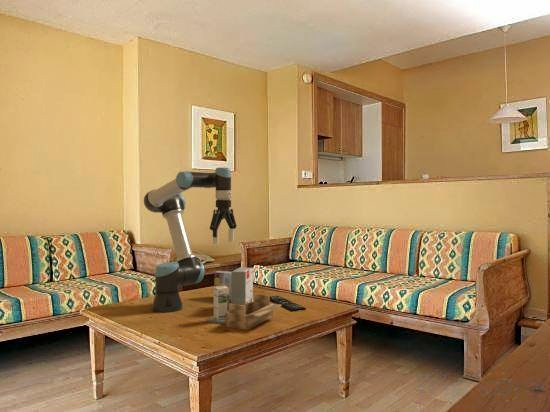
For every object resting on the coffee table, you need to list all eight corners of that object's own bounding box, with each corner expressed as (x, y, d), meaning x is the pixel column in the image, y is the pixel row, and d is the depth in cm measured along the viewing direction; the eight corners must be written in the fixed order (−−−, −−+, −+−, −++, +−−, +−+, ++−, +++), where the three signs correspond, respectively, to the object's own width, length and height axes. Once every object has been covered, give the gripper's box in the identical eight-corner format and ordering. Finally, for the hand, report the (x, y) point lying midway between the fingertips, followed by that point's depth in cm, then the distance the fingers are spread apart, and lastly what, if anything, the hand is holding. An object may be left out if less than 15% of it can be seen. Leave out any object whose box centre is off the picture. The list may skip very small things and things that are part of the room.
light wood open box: (225, 326, 193) (225, 303, 193) (251, 313, 214) (251, 293, 214) (258, 331, 186) (258, 307, 186) (282, 317, 207) (282, 296, 207)
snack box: (250, 300, 244) (249, 273, 243) (244, 302, 239) (244, 274, 239) (219, 296, 255) (219, 270, 254) (213, 298, 250) (213, 271, 250)
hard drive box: (245, 312, 218) (245, 272, 217) (230, 311, 219) (230, 271, 219) (253, 304, 233) (253, 267, 233) (239, 304, 235) (239, 266, 234)
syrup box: (217, 320, 200) (217, 288, 199) (213, 317, 205) (213, 286, 205) (229, 318, 202) (229, 287, 202) (224, 315, 207) (224, 285, 207)
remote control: (278, 298, 250) (278, 294, 250) (305, 311, 221) (305, 307, 221) (266, 299, 247) (266, 296, 247) (292, 312, 218) (292, 308, 218)
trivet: (206, 321, 201) (206, 319, 201) (218, 316, 210) (218, 314, 210) (224, 324, 197) (224, 321, 197) (236, 318, 206) (236, 316, 206)
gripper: (215, 199, 201) (215, 245, 201) (243, 199, 223) (243, 240, 224) (201, 199, 204) (202, 245, 205) (230, 199, 227) (230, 240, 227)
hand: (223, 243), depth 214 cm, fingers open, 13 cm apart
